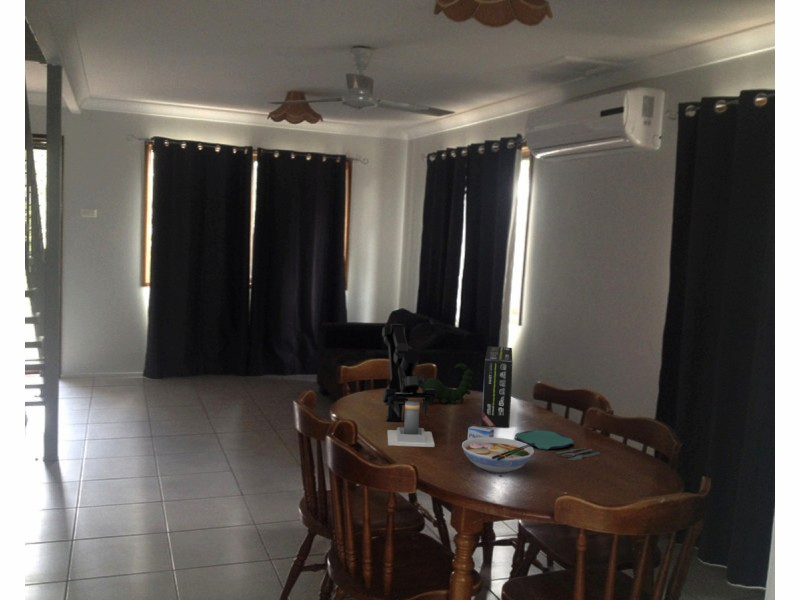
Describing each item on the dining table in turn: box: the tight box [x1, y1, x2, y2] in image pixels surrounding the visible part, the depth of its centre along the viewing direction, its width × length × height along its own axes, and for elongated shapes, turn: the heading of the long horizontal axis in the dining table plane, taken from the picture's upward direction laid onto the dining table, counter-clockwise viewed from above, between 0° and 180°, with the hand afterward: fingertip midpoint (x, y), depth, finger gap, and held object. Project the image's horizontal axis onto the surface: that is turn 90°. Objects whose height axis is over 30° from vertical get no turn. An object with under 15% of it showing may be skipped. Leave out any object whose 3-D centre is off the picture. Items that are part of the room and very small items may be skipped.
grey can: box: [403, 400, 421, 435], centre depth 255 cm, size 5×5×13 cm
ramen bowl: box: [461, 437, 536, 474], centre depth 228 cm, size 25×23×8 cm
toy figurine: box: [418, 363, 474, 405], centre depth 316 cm, size 9×19×25 cm
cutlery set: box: [513, 429, 601, 461], centre depth 258 cm, size 20×30×2 cm, turn 32°
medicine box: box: [466, 425, 495, 440], centre depth 245 cm, size 8×4×9 cm, turn 62°
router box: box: [481, 345, 513, 429], centre depth 296 cm, size 36×11×27 cm, turn 172°
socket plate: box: [387, 427, 435, 448], centre depth 257 cm, size 16×16×4 cm
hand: (412, 416), depth 254 cm, fingers open, 9 cm apart
